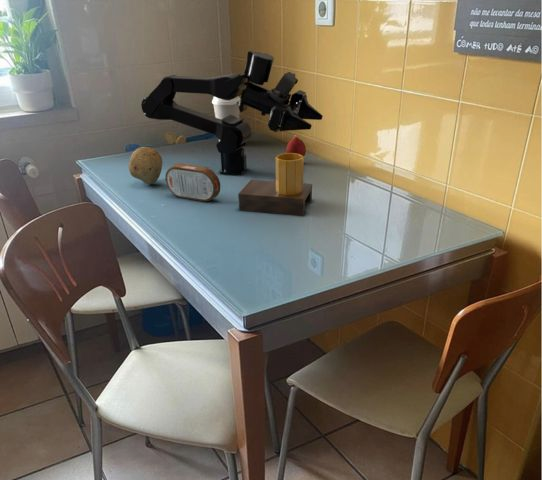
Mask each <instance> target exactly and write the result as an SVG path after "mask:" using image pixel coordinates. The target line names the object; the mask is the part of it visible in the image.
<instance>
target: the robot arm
mask: <svg viewBox="0 0 542 480" xmlns="http://www.w3.org/2000/svg"><path fill="white" fill-rule="evenodd" d="M274 61H275V57H274V56H272V54H269V53H266V52H260V51H254V50H249V51H247V55H246V64H245V68H244V72H241V73H236V72H234V73H229V74H223V75H218V76H213V77H209V76H188V75H176V74H171V75H167V76H164V77H163V78H162V79H161V81H159V83H158V85H157V86H156V87H155V88H154V89H153V90H152V91H151V92H150V93H149V94H148V96H146V97H144V98H142V101H141V104H140V107H141V110H142V113H143V115H144V117H146V118H147V119H151V120H158V121H174V122H176V123H178V124H182V125H185V126H188V127H190V128H193V129H196V130H199V131H202V132H204V133H206V134H207V133H208V134H211V135H213V136H215V137H216V138H217V139H218V142H217V144H216V145H215V146H216V149H217V152H218V153H219V154H220V165H221V166H220V167H221V169H220V170H219V174H222V175H223V174H224V175H238V176H239V175H240V176H241V175H242V174H244V172H245V171H246V170H247V169H248V165H247V154H246V153H245V148H244V147H246V146H247V142H248V141H249V140H250V139H251V136H252V128H251V127H250V124H249V123H248V122H247V121H245V120H244V118H241V117H239V118H237V117H235V116H233V115H229V116H227V117H225V118H223V119H218V118H216V117H215V116H212V115H210V114H207V113H204V112H200V111H198V110H195V109H192V108H189V107H187V106H183V105H181V104H178V103H177V102H176V101H175V100H174V99H175V97H176V94H177V93H182V94H183V93H184V94H185V93H186V94H201V95H210V96H213V98H214V97H216V98H220V99H224V100H232V99H234V98H236V97H238V96H239V97H240V101H239V102H237V105H238V107H239V110H240V113H243V112H245V111H247V110H248V107H249V108H251V109H254V110H256V111H258V112H260V116H264V117H265V116H266V115H268V116H269V118H268V122H267V127H268V128H269V130H270V131H272V132H274V133H278V132H288V131H305V130H311V129H312V126H313V125H312V124H311V123H310V122H308V121H306V120H314V121H321V120H323V117H324V115H323V114H322V113H320V112H319V111H318V110H317V109H316V108H314V107H313V106H312V105H311V104H310V103H309V101H308V96H307V92H306V91H304V90H300V89H299V90H297V91H296V92H294V93H291V92H292V90H293V88H294V87H295V85H297V83H299V79H298V78H297V77H296V73H293V72H291V71H287V72H285V73H283V75H282V77H281V78H280V80H278V83H277V84H276V85H275V87H273V88H271V89H268V88H266V87H263V86H265V83H268V82H269V81H270V78H271V74H272V71H273V70H272V69H273V66H274ZM219 140H220V141H219Z"/></svg>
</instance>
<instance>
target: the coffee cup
mask: <svg viewBox="0 0 542 480" xmlns="http://www.w3.org/2000/svg"><path fill="white" fill-rule="evenodd" d="M240 99H241V97H240V96H238V97H236V98H234V99H232V100H224V99H220V98H216V97H214V96H213V97H212V99H211V104H213V109H214V110H213V111H214V117H215V118H218V119H223V118H225V117H227V116H229V115H233V116H235V117H237V118H240V113H241V112H240V110H239V107H238V105H237V102H239V101H240ZM219 141H220V140H219V139H218V142H219Z"/></svg>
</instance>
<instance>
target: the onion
mask: <svg viewBox="0 0 542 480" xmlns="http://www.w3.org/2000/svg"><path fill="white" fill-rule="evenodd" d="M285 150H286V151H285V153H296V154H301V155H302V156H304V157H305V155H306V151H307V148H306V144H305V143H304V141H303V140H302V139H301V138H300V137H298V135H296V134H293V138H292V139H291V140H290V141H289V142H288V143H287V145H286V149H285Z"/></svg>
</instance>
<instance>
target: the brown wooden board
mask: <svg viewBox="0 0 542 480" xmlns="http://www.w3.org/2000/svg"><path fill="white" fill-rule="evenodd" d="M237 197H238V208H239V211H243V212H244V211H245V212H255V213H268V214H279V215H291V216H304V215H305V212H306V210H305V209H306V203H308V204H310V203H312V202H313V201H312V200H313V183H308V182H307V183H305V182H303V191H302V193H299V194H296V195H284V194H279V193H278V192H277V191H276V180H265V179H264V180H263V179H250V180H249V181H248V182H247V184H246V185H245V186H244V187H243V188H242V189H241V190H240V191H239V192H238V195H237Z"/></svg>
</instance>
